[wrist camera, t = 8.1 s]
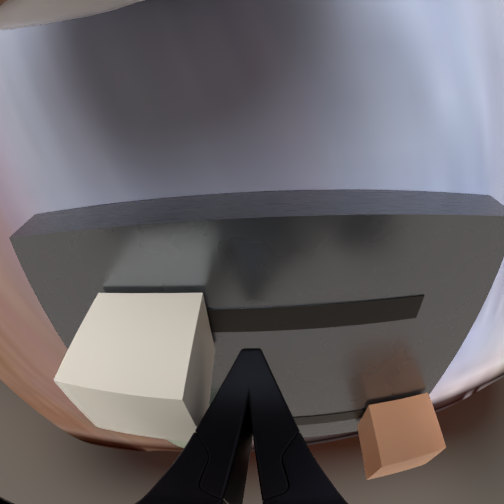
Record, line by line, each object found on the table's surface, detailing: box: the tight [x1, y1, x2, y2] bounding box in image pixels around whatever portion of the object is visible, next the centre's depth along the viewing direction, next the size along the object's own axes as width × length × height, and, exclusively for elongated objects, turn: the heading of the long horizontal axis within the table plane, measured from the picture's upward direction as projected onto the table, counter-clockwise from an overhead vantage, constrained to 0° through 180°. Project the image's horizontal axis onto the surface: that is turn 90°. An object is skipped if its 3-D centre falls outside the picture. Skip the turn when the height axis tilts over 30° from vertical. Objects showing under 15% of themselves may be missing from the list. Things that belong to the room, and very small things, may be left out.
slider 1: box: [54, 293, 215, 441], centre depth 9 cm, size 4×3×4 cm
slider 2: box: [357, 393, 446, 480], centre depth 13 cm, size 4×3×4 cm
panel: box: [10, 190, 504, 440], centre depth 14 cm, size 20×16×2 cm
